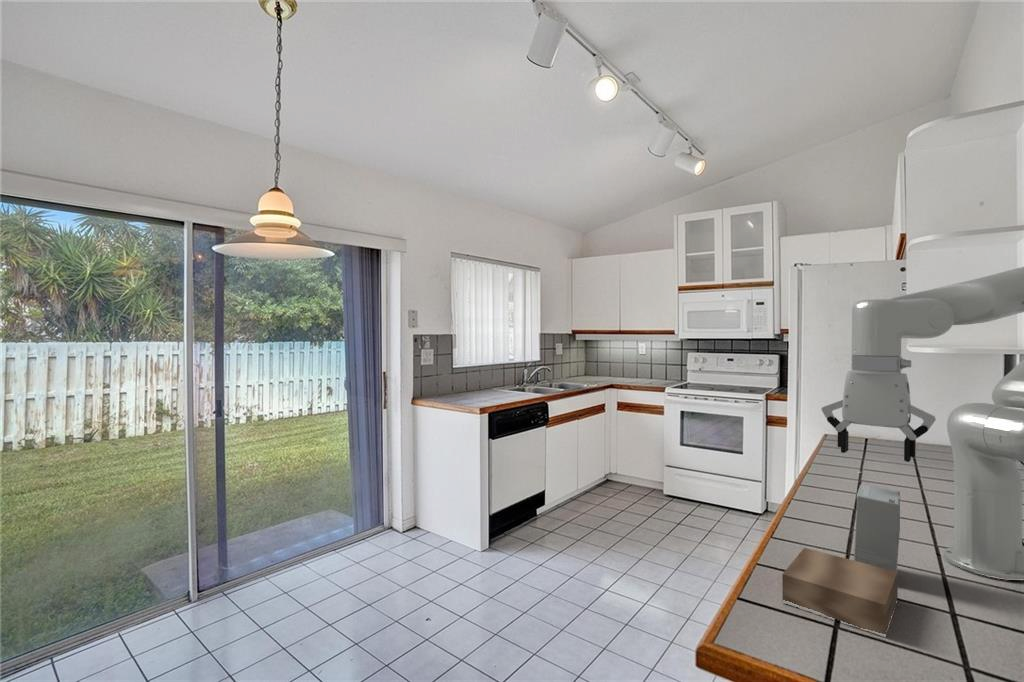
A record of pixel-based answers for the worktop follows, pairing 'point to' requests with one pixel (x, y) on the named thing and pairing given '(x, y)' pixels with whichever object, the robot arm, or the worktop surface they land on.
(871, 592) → the walnut box
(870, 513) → the skincare box
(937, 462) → the worktop surface
